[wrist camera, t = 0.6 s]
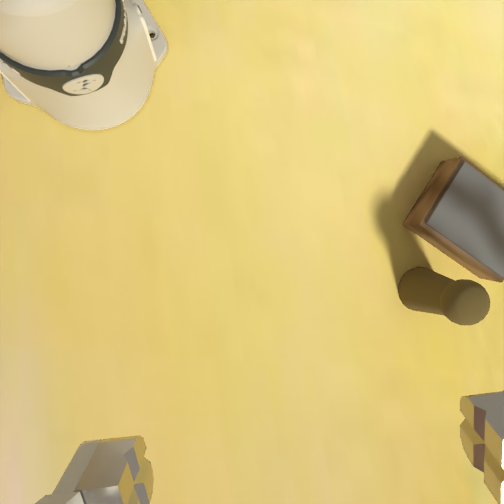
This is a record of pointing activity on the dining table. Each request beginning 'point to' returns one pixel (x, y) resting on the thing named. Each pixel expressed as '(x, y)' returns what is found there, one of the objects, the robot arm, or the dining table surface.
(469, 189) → the walnut riser
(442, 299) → the brown chess pawn
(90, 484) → the robot arm
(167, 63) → the dining table surface
